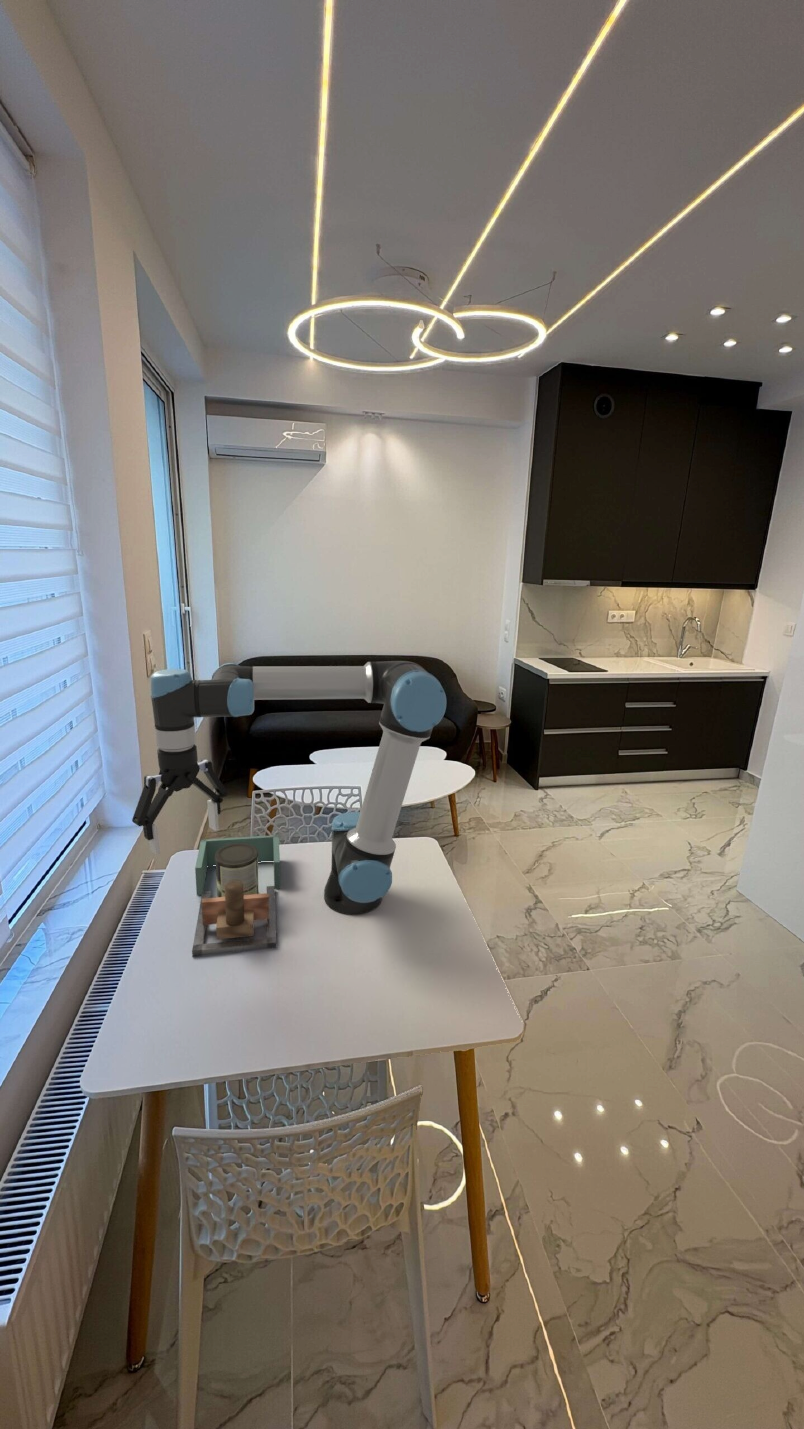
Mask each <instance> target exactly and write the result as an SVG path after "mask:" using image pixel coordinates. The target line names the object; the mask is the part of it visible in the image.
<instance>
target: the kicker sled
mask: <svg viewBox="0 0 804 1429" xmlns="http://www.w3.org/2000/svg"><path fill="white" fill-rule="evenodd" d="M202 919H203V925H206V926H207V925H208V926H209V925H216V927H215V930H216V940H224V939H225V940H226V939H234V938H243V937H252V936H253V937H254V936H255V935H254V930H255V929H254V928H255V926H254V925H255V921H261V920H262V921H264V920H267V919H269V893H267V892H266V893H265V892H264V893H259V894H252V895H244V892H243V883H242V882H239V881H232V882H229V883H227V884H226V885H225V897H217V896H216V897H211V898H204V899H202Z"/></svg>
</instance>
